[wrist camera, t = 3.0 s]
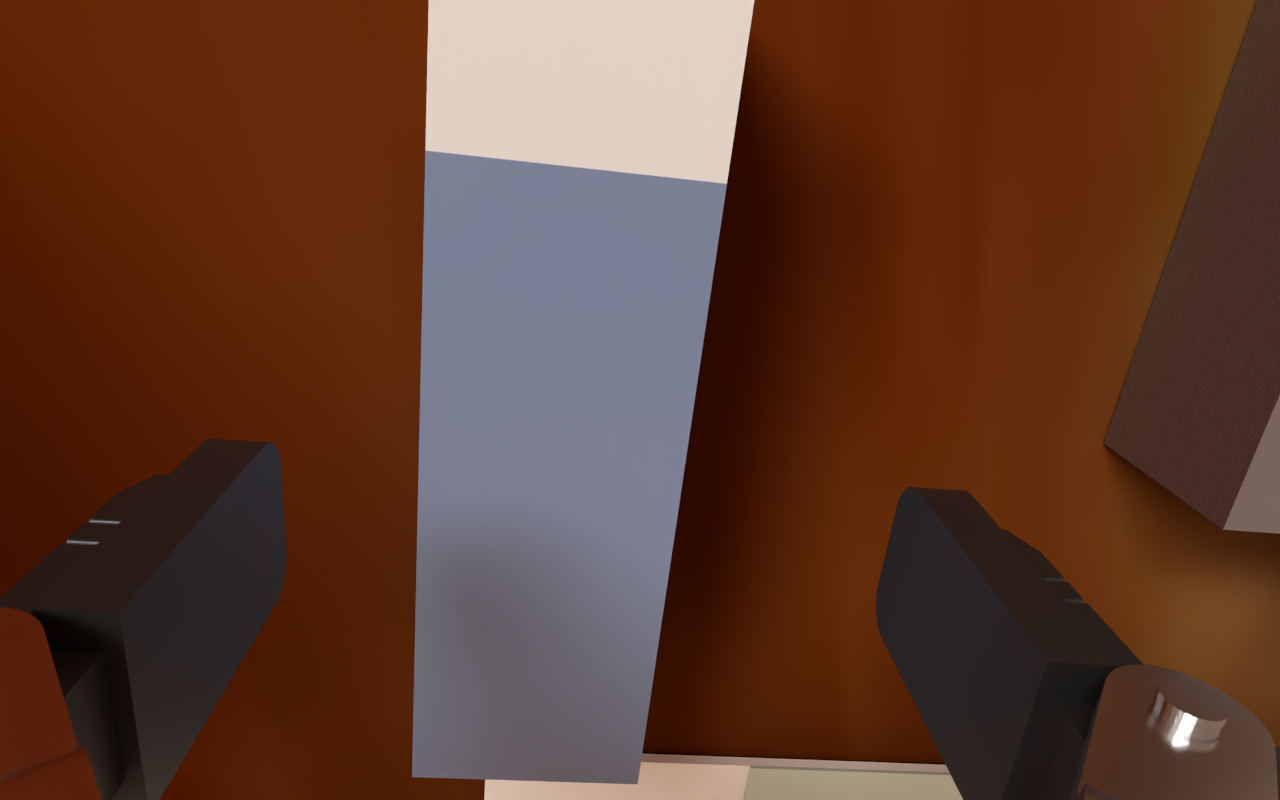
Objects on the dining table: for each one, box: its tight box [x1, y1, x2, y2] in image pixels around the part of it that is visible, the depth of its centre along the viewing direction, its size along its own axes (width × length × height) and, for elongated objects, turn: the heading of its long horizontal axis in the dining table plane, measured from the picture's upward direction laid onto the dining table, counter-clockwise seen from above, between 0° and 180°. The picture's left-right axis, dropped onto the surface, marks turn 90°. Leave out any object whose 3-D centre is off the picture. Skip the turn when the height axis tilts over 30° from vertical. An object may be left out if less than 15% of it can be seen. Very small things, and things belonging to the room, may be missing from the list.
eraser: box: [412, 0, 754, 784], centre depth 16 cm, size 4×15×4 cm, turn 173°
